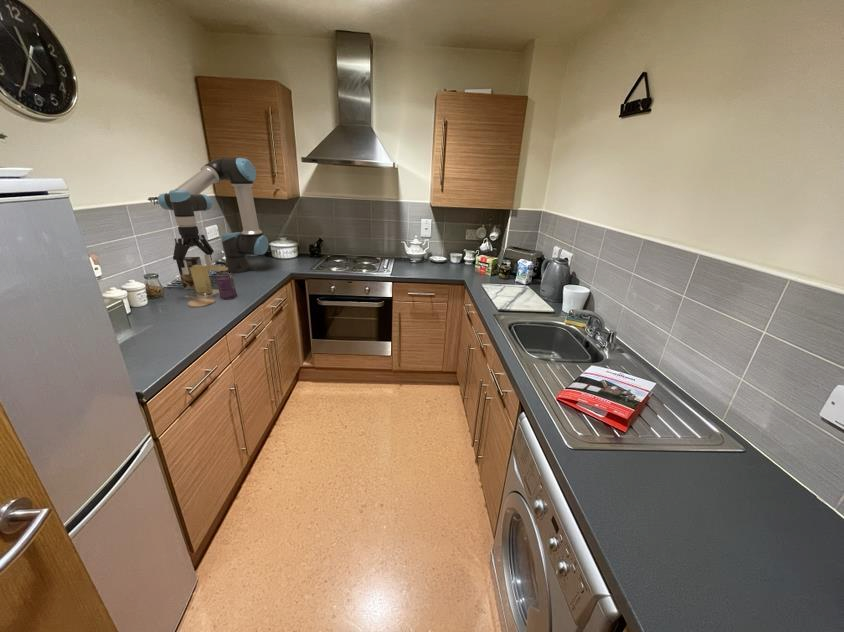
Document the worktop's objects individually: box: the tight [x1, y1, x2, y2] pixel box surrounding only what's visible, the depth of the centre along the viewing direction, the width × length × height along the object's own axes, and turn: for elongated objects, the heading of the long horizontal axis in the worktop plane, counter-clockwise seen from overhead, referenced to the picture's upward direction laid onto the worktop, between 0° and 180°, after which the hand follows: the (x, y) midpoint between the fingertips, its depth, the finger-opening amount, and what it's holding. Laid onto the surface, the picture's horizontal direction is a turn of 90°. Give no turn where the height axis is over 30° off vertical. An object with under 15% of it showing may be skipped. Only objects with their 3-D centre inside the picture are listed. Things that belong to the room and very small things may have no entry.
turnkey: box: [190, 264, 228, 293], centre depth 157 cm, size 3×20×14 cm, turn 77°
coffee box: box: [175, 256, 203, 291], centre depth 168 cm, size 9×6×16 cm
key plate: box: [184, 288, 220, 300], centre depth 161 cm, size 12×12×1 cm
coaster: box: [187, 297, 216, 308], centre depth 151 cm, size 11×11×1 cm
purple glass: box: [215, 271, 238, 300], centre depth 156 cm, size 7×7×12 cm
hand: (198, 270), depth 156 cm, fingers open, 13 cm apart
